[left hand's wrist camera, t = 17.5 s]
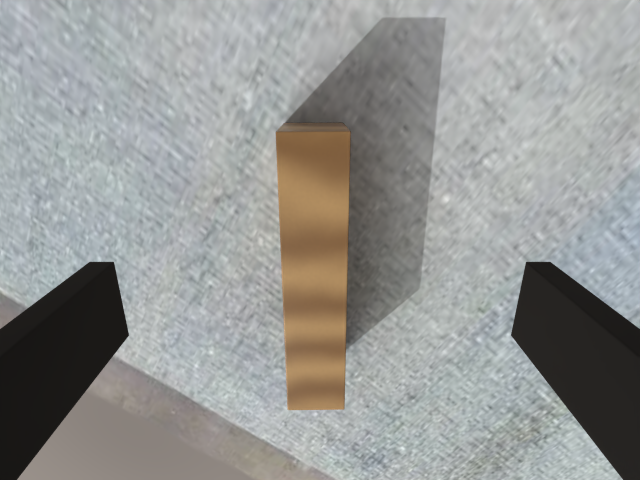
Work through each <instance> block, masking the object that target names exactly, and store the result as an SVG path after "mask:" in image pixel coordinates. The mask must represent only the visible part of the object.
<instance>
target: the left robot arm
mask: <svg viewBox="0 0 640 480" xmlns="http://www.w3.org/2000/svg"><path fill="white" fill-rule="evenodd" d="M128 336H129V333H128V328H127V324H126V319H125V314H124V309H123V304H122V299H121V294H120V290H119V285H118V280H117V275H116V270H115V265H114V262H89V263H88V264H86V265H85V266H84V267H82V268H81V269H80V270H78V271H77V272H76V273H74V274H73V275H72V276H70V277H69V278H68V279H66V280H65V281H64V282H62V283H61V284H60V285H58V286H57V287H56V288H54V289H53V290H52V291H50V292H49V293H48V294H46V295H45V296H44V297H42V298H41V299H40V300H38V301H37V302H36V303H34V304H33V305H32V306H30V307H29V308H28V309H26V310H25V311H24V312H22V313H21V314H20V315H18V316H17V317H16V318H14V319H13V320H12V321H10V322H9V323H8V324H6V325H5V326H4V327H2V328H1V329H0V480H17V479H18V478H19V476H20V475H21V474H22V472H23V471H24V470H25V469H26V467H27V466H28V465H29V463H30V462H31V461H32V459H33V458H34V457H35V456H36V454H37V453H38V452H39V450H40V449H41V448H42V447H43V445H44V444H45V443H46V441H47V440H48V439H49V438H50V436H51V435H52V434H53V432H54V431H55V430H56V429H57V427H58V426H59V425H60V423H61V422H62V421H63V420H64V418H65V417H66V416H67V414H68V413H69V412H70V411H71V409H72V408H73V407H74V405H75V404H76V403H77V402H78V400H79V399H80V398H81V396H82V395H83V394H84V393H85V391H86V390H87V389H88V387H89V386H90V385H91V384H92V382H93V381H94V380H95V378H96V377H97V376H98V374H99V373H100V372H101V371H102V369H103V368H104V367H105V365H106V364H107V363H108V362H109V360H110V359H111V358H112V356H113V355H114V354H115V353H116V351H117V350H118V349H119V347H120V346H121V345H122V344H123V342H124V341H125V340H126V338H127V337H128ZM511 336H512V337H513V338H514V340H515V341H516V342H517V344H518V345H519V346H520V347H521V349H522V350H523V351H524V353H525V354H526V355H527V356H528V358H529V359H530V360H531V362H532V363H533V364H534V365H535V367H536V368H537V369H538V371H539V372H540V373H541V374H542V376H543V377H544V378H545V380H546V381H547V382H548V384H549V385H550V386H551V387H552V389H553V390H554V391H555V393H556V394H557V395H558V396H559V398H560V399H561V400H562V402H563V403H564V404H565V405H566V407H567V408H568V409H569V411H570V412H571V413H572V414H573V416H574V417H575V418H576V420H577V421H578V422H579V423H580V425H581V426H582V427H583V429H584V430H585V431H586V432H587V434H588V435H589V436H590V438H591V439H592V440H593V441H594V443H595V444H596V445H597V447H598V448H599V449H600V450H601V452H602V453H603V454H604V456H605V457H606V458H607V460H608V461H609V462H610V463H611V465H612V466H613V467H614V469H615V470H616V471H617V472H618V474H619V475H620V476H621V478H622V479H623V480H640V329H639V328H638V327H636V326H635V325H634V324H632V323H631V322H630V321H628V320H627V319H626V318H624V317H623V316H622V315H620V314H619V313H618V312H616V311H615V310H614V309H612V308H611V307H610V306H608V305H607V304H606V303H604V302H603V301H602V300H600V299H599V298H598V297H596V296H595V295H594V294H592V293H591V292H590V291H588V290H587V289H586V288H584V287H583V286H582V285H580V284H579V283H578V282H576V281H575V280H574V279H572V278H571V277H570V276H568V275H567V274H566V273H564V272H563V271H562V270H560V269H559V268H558V267H556V266H555V265H554V264H552V263H551V262H526V265H525V270H524V275H523V280H522V285H521V290H520V294H519V299H518V304H517V309H516V314H515V319H514V324H513V328H512V333H511Z"/></svg>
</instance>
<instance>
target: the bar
mask: <svg viewBox="0 0 640 480" xmlns="http://www.w3.org/2000/svg"><path fill="white" fill-rule="evenodd" d="M350 141H351V132H350V130H349V129H348V128H347V127H346V126H345V125H344V123H284V124H283V125H282V126H281V127H280V128H279V129H278V130H277V131H276V149H277V172H278V195H279V219H280V242H281V266H282V289H283V312H284V336H285V359H286V383H287V406H288V410H332V409H344V404H345V360H346V316H347V272H348V228H349V184H350Z"/></svg>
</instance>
